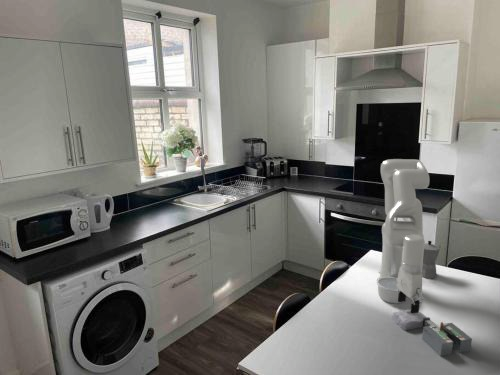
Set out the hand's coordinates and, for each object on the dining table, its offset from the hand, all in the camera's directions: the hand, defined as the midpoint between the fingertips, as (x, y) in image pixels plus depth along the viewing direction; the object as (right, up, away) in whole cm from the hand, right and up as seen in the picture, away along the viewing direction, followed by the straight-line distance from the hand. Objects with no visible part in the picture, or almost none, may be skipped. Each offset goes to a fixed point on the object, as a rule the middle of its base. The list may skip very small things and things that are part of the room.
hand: (407, 306), depth 153 cm
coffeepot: (+24, +4, +39) cm, 46 cm away
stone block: (0, -6, 0) cm, 6 cm away
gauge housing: (+8, -9, -14) cm, 19 cm away
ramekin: (0, -2, +18) cm, 18 cm away
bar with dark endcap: (+6, -7, -9) cm, 13 cm away
